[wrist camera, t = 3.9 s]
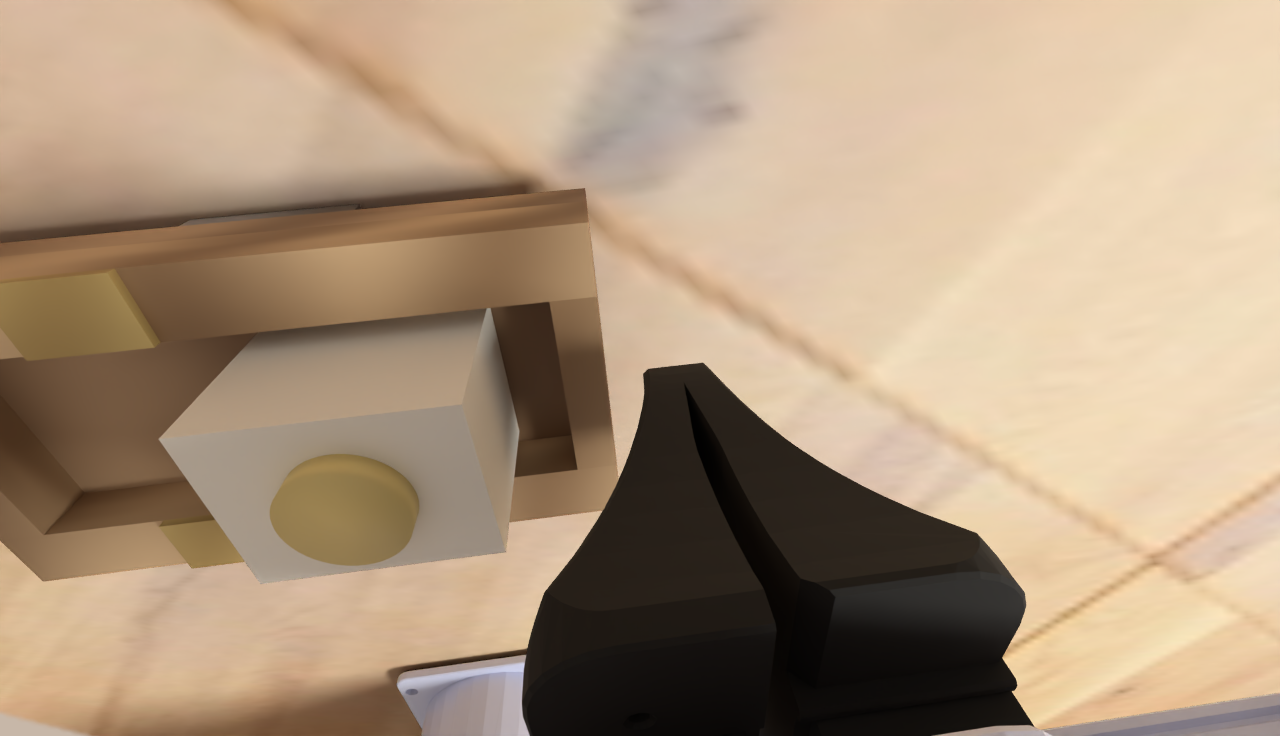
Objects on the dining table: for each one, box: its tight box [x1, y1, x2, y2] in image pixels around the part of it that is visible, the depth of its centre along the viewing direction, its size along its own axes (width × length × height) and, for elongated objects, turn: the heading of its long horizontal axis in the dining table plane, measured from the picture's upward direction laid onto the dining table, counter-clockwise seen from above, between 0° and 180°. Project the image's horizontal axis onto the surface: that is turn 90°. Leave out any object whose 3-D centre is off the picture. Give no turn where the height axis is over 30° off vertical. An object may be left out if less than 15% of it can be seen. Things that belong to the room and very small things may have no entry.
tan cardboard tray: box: [0, 188, 618, 581], centre depth 14 cm, size 15×8×4 cm, turn 93°
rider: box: [159, 308, 519, 584], centre depth 12 cm, size 5×4×4 cm
